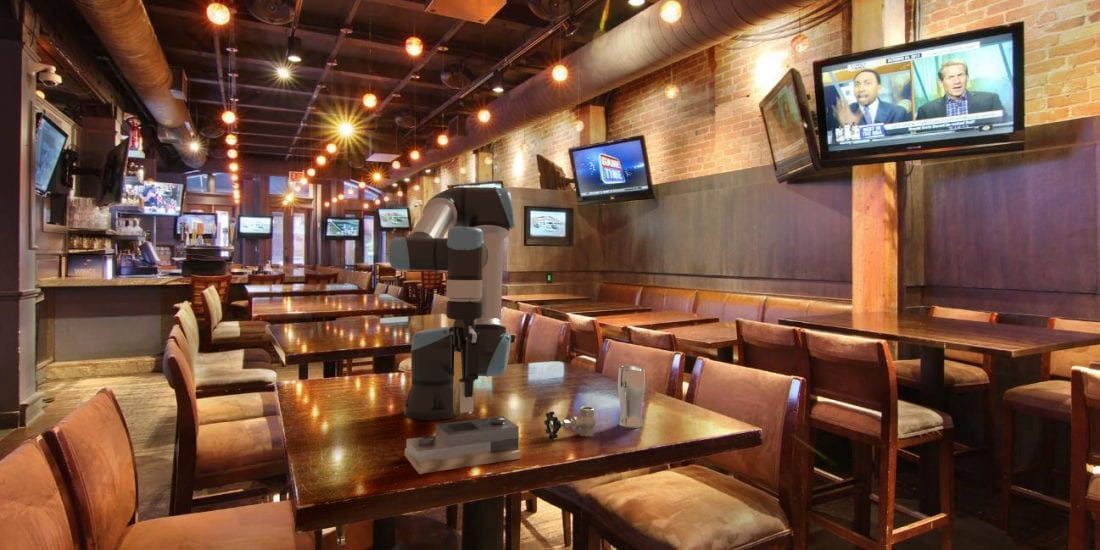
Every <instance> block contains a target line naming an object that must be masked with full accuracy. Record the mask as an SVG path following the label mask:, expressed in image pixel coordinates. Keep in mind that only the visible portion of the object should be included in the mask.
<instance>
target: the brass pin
mask: <svg viewBox="0 0 1100 550" xmlns="http://www.w3.org/2000/svg"><path fill="white" fill-rule="evenodd" d="M459 379H462V364H461V350H457V351H454V413H455V414H459V415H469V414H472V413H473V412H464V413H461V412H460V382H459Z"/></svg>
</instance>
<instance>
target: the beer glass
mask: <svg viewBox="0 0 1100 550" xmlns="http://www.w3.org/2000/svg"><path fill="white" fill-rule="evenodd" d="M645 377H646V376H645V367H643V366H640V365H630V364H627V365H620V366H619V367H618V376H617V391H618V400H619V408H620V414H619V421H618V425H619V426H620V427H622V428H625V429H640V428H641V427H643V419H642V408H643V407H642V406H643V401H644V397H645V392H646V391H645V389H646V378H645Z"/></svg>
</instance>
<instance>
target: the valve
mask: <svg viewBox="0 0 1100 550" xmlns="http://www.w3.org/2000/svg"><path fill="white" fill-rule="evenodd" d="M594 413H595V408H594V407H593V406H588V405H587V406H581V407H579V416H572V417H571V418H570V420H569V419H563V420H562V421H561V420H559V418H558V416H554V415H555V411H549V412H546V413H545V418H546V419H545V420H544V422H543V423H544V425H545V426H546V429H545V434H547V435H548V439H549V440H554V439H557V438H558V437H559V436H558V432H559V431H560V429H562V428H563V429H567V428H570V427H571V428H572V429H573V430H578V429H579V436H580V437H584V436H586V437H585V438H588V437H587V436H589V437H593V436H594V428H595V426H596V418H595V415H594Z"/></svg>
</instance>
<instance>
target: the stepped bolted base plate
mask: <svg viewBox="0 0 1100 550" xmlns="http://www.w3.org/2000/svg"><path fill="white" fill-rule="evenodd" d="M519 434H520V429H519V425H517V424H516V423H514V422H513V421H510V419H508V418H507V417H504V416H503V415H502V416H499V415H498V416H497V415H496V416H491V417H485V418H476V419H467V420H460V421H451V422H449V421H448V422H443V423H442V422H441V423H435V435H430V436H429V435H427V436H425V435H424V436H423V435H422V436H420V437H412V438H406V448H405V449H406V451H407V452H408V453H409V454H410V456H411V457H412V458H413V459H414V461H415V462H416V463H417V464H421V463H428V462H435V461H442V460H448V459H455V458H462V457H469V456H476V455H483V454H490V453H497V452H504V451H511V450H519V436H520V435H519Z"/></svg>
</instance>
